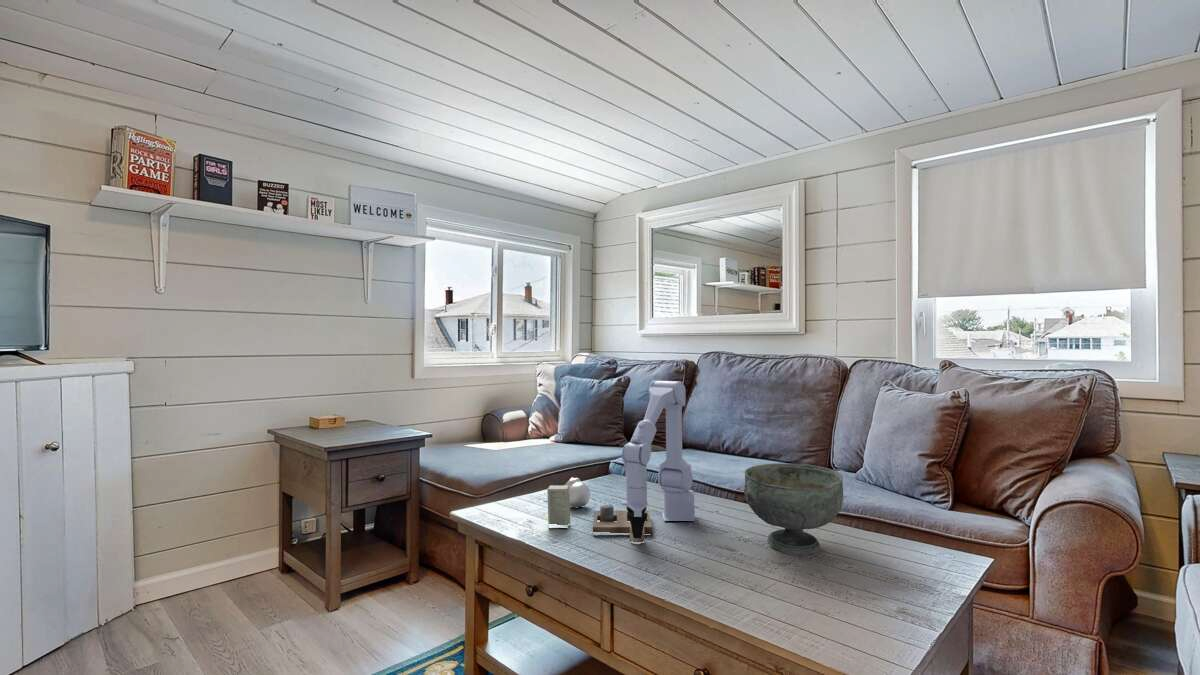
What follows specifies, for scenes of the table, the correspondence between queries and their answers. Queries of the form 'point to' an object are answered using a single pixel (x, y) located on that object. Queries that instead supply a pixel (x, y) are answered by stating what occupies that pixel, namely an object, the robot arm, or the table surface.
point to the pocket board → (621, 526)
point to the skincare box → (558, 504)
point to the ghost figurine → (578, 492)
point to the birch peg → (636, 538)
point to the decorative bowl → (794, 502)
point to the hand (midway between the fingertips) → (637, 535)
